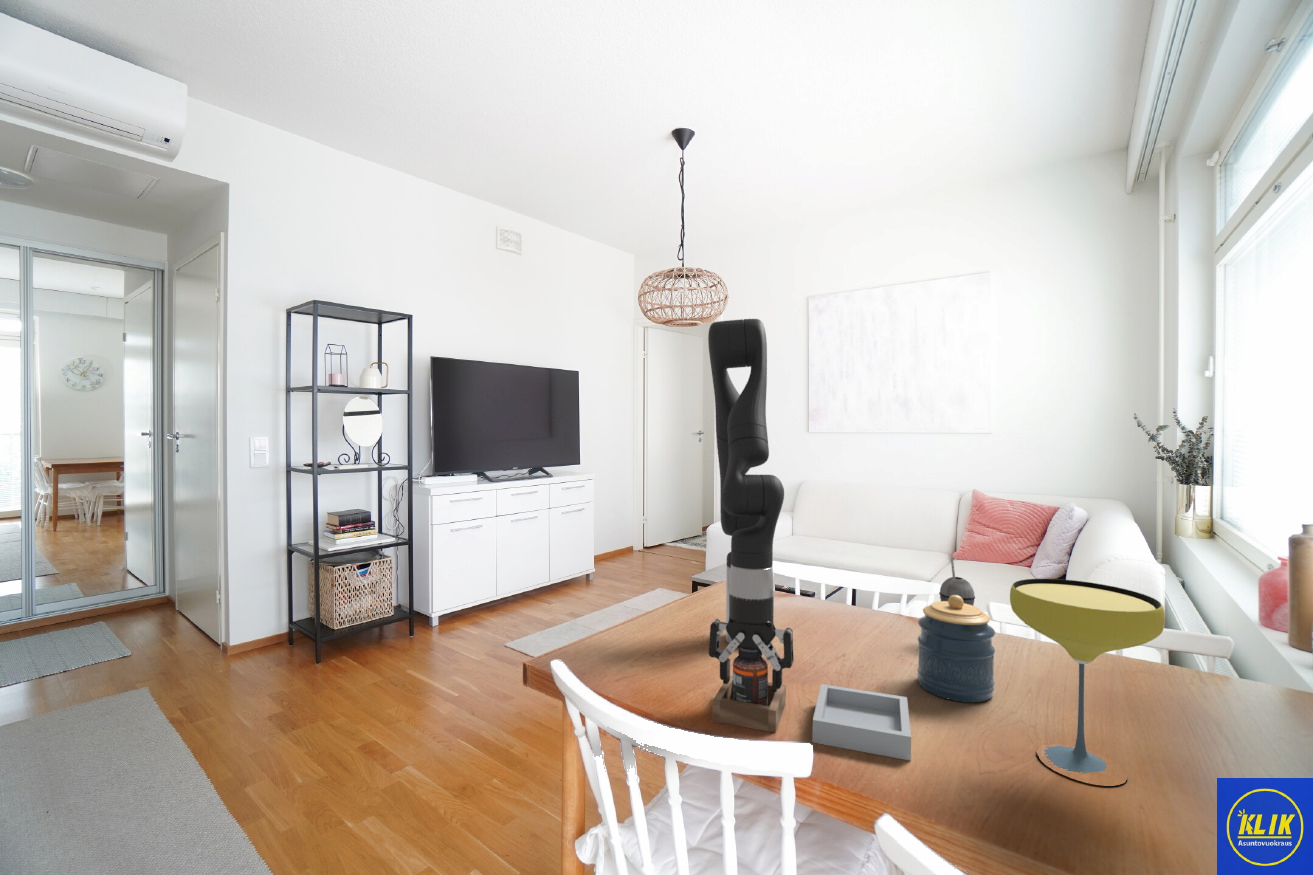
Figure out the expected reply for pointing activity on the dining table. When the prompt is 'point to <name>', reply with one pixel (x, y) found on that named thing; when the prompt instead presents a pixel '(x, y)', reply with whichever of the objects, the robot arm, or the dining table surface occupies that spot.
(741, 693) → the supplement bottle
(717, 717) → the socket block
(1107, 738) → the dining table surface
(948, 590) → the beverage cup
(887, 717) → the tray
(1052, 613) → the cocktail glass
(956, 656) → the canister
